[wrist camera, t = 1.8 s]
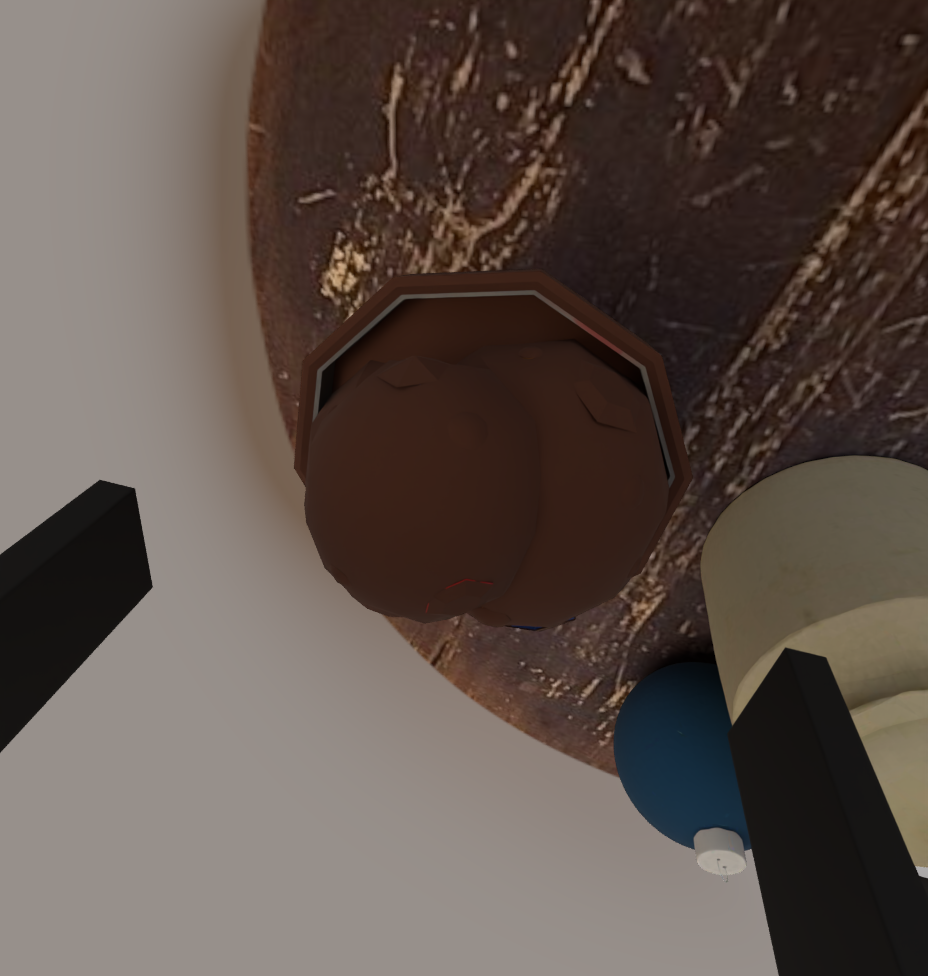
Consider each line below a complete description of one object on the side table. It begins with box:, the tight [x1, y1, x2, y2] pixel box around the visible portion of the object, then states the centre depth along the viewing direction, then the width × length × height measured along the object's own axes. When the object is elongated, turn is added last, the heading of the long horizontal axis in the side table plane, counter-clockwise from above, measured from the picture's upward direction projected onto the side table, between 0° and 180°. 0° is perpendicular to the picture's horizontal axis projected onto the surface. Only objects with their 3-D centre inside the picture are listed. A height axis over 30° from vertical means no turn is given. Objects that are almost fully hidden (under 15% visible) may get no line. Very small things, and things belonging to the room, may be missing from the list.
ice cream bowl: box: [294, 269, 693, 631], centre depth 18 cm, size 11×11×15 cm
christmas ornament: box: [614, 662, 752, 882], centre depth 28 cm, size 8×8×10 cm
